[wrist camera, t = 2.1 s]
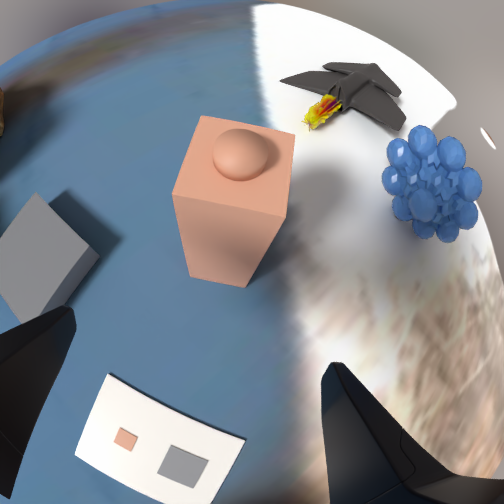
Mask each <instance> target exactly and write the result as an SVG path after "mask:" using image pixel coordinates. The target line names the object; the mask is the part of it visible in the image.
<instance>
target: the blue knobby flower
mask: <svg viewBox="0 0 504 504" xmlns="http://www.w3.org/2000/svg"><path fill="white" fill-rule="evenodd" d="M387 157H388V160H389V162H390V165H391V166H389V167H387V168H385V169H384V171H383V173H382V183H383V186H384V188H385V190H386V191H387V192H388V193H390V194H391V195H396V196H395V197H394V199H393V201H392V208H393V211H394V214H395V216H396V217H397V218H398V219H400V220H401V221H409V220H411V219H413V222H412V226H413V229H414V233H415V234H416V235H417V236H418V237H419V238H421V239H428V238H431V237H432V236H433V234H434V233H435V231H436V234H437V237H438V238H439V239H440V240H441V241H442V242H445V243H451V242H453V241H455V239H456V238H457V236H458V234H459V228H460V229H465V230H469V229H471V228H473V227H474V225H475V223H476V222H477V220H478V210H477V207H476V205H475V204H474V203H473V201H475V200H477V199H478V197H479V196H480V194H481V191H482V180H481V178H480V176H479V174H478V173H477V171H475V170H474V169H473V168H469V167H465V168H463V167H464V165H465V161H466V152H465V149H464V147H463V145H462V144H461V143H460V141H459V140H457V139H456V138H454V137H450V136H448V137H446V138H444V139H442V140H440V142H439V144H438V146H437V139H436V137H435V135H434V133H433V132H432V131H431V130H430V129H429V128H427V127H426V126H422V125H418V126H416V127H414V128H413V129H411V131H410V133H409V135H408V142H407V141H405V140H404V139H400V138H396V139H394V140H392V141H391V142H390V143H389V145H388V147H387Z"/></svg>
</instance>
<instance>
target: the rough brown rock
mask: <svg viewBox="0 0 504 504" xmlns="http://www.w3.org/2000/svg"><path fill="white" fill-rule="evenodd" d="M3 99H4V93H3V92H2V90H1V88H0V137H1V136H2V134H3V130H4V119H3Z"/></svg>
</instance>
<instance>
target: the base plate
mask: <svg viewBox="0 0 504 504" xmlns="http://www.w3.org/2000/svg"><path fill="white" fill-rule="evenodd" d="M99 257H100V255H99V254H98V253H96V252H95V251H94V250H93V249H92V248H91V247H90V246H89V245H88V244H87V243H86V242H85V241H84V240H83V239H82V238H81V237H80V236H79V235H78V234H77V233H76V232H74V231H73V230H72V229H71V228H70V227H69V226H68V225H67V224H66V223H65V222H64V221H63V220H62V219H61V218H60V217H59V216H58V215H57V214H56V213H55V212H54V210H53V209H52V208H51V207H50V206H49V205H48V204H47V203H46V202H45V201H44V200H43V199H42V198H41V197H40V196H39V195H38V194H37V192H35V193H34V195H33V196H32V197H31V198H30V199H29V201H28V202H27V203H26V204H25V206H24V207H23V208H22V209H21V211H20V212H19V213H18V215H17V216H16V217H15V218H14V220H13V221H12V223H11V224H10V225H9V227H8V228H7V229H6V231H5V232H4V234H3V235H2V237H1V238H0V294H1V295H2V297H3V298H4V300H5V301H6V303H7V304H8V306H9V307H10V308H11V310H12V311H13V313H14V314H15V315H16V317H17V318H18V319H19V321H20V322H21V323H22V324H23V323H25V322H27V321H29V320H31V319H33V318H35V317H38V316H40V315H42V314H44V313H46V312H48V311H50V310H53V309H55V308H57V307H59V306H61V305H64V304H65V303H66V301H67V300H68V299H69V297H70V296H71V294H72V293H73V292H74V290H75V289H76V287H77V286H78V285H79V283H80V282H81V281H82V279H83V278H84V277H85V275H86V274H87V273H88V271H89V270H90V269H91V267H92V266H93V265H94V264H95V262H96V261H97V260H98V259H99Z"/></svg>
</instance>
